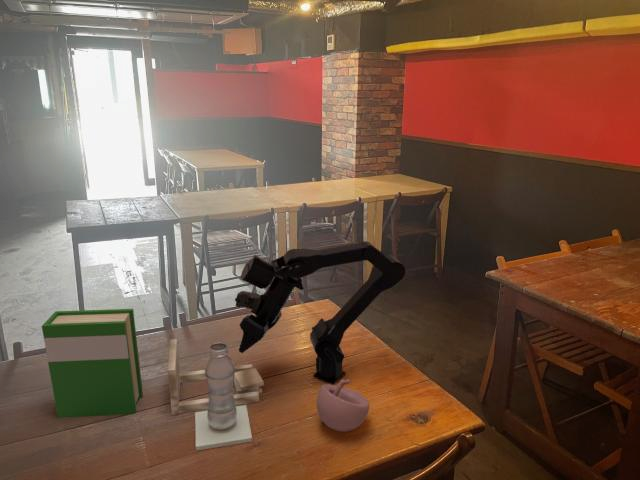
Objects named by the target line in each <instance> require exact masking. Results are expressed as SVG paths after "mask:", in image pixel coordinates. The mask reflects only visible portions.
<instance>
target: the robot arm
mask: <svg viewBox="0 0 640 480" xmlns="http://www.w3.org/2000/svg"><path fill="white" fill-rule="evenodd" d="M362 261H367V262H369V264H371V265H372V268H371V271H370V274H369V276H368V278H367V280H366V281H365V282H364V284H362V285H361V287H360V288H358V290H357V291H356V292H355V293H354V294H353V295H352V296H351V298H350V299H348V301H347V302H346V303H345V304H344V305H343V306H342V308H340V309H339V310H338V312H337V313H335V315H334V316H333V317H331V318H330V319H327V320H325V319H324V318H320V319H319V320H318V322H317V323H316V324H315V325H314V326H313V327H311V332H310V334H309V335H310V336H309V340H310V342H311V345H312V347H313V350H314V352H315V354H316V358H315V372H314V374H313V378H315V379H318V380H320V381H323V382H325V383H327V384H331V385H335V384H336V383H337V381H340V379H341V378H342V377H344V376H345V375H346V371H344V370H343V361H344V358H345V354H344V353H343V350H342V349H341V346H340V344H341V342H342V340H343V337H344V335H345V332H346V331H347V330H348V329H349V328H350V327H351V325H353V323H354V322H355V321H356V320H357V319H358V318H359V317H360V316H361V315H362V314H363V313H364V312H365V311H366V309H368V307H369V306H370V305H371V304H372V303H373V302H374V301H375V300H376V299H377V298H378V296H380V294H382V292H385V291H387V290H389V289H392V288H394V287H395V286H397V285H398V284H399V283H401V281H402V280H403V279H404V278H405V277H406V268H405V266H404V264H403V263H402V262H401V261H400V260H399V259H397V258H396V257H395V256H394V255H392V254H385V253H383V252H382V251H381V250H380V249H378V248H376V247H375V246H374V245H373V244H372V243H371V242H369V241H368V240H367V241H362V242H359V243H352V244H347V245H342V246H341V245H340V246H336V247H329V248H325V249H308V248H291V249H289V250H287V251H286V252H285V253H284V255H282V256H280V257H278V258H275V259H273V260H271V261H270V262H269V261H266V260H265V259H263V258H261V257H260V256H258V255H257V254H254V255H253V256H252V258H251V259H249V260H248V262H246V263H245V265H244V267H243V269H242V271H241V273H240V280H241V281H243V282H246V283H248V284H250V285H251V286H254V287H256V288H258V289H260V290H263V289H266V288H267V289H266V290H265V292H264V293H262V294H258V293H255V292H251V291H247V290H241V291H240V292H238V293H237V294H236V297H235V298H234V302H235V307H237V308H246V309H249V310H251V311H250V313H251V314H248V315H245V317H244V318H242V320H241V321H240V323H239V327H240V330H242V337H241V342H240V345H239V348H238V352H239V353H241V354H243V353H245V352H246V351H248V350H249V349H250V348H251V347H253V346H254V345H255V344H257V343H259V342H260V341H261V340H262V339H263V338H264V337H265V335H266V334H267V333H268V331H269V330H271V329H272V328H273V327H274V326H275V325H276V324H277V323H278V322H279V321H280V319H281V317H282V316H283V315H282V310H283V308H284V307H285V306H286V304H287V303H286V302H287V301H288V299H289V298H290V296H291V295H292V292H293V291H294V290H295V288H296V289H298V290H300V291H303V290H304V286H303V279H302V278H305V277H307V276H310V275H312V274H314V273H316V272H317V271H319V270H321V269H323V268H324V269H325V268H329V267H336V266H340V265H347V264H353V263H357V262H362Z"/></svg>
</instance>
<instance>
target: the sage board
mask: <svg viewBox="0 0 640 480" xmlns="http://www.w3.org/2000/svg"><path fill="white" fill-rule="evenodd" d="M235 406H236V410H237V418H236V422H235V423H234V424H233V426H231V427H230V428H228V429H225V430H217V429H214V428H213V427H211V426H210V424H209V422H208V419H207V412H208V410H200V411H194V416H195V420H194V422H195V427H194V428H195V451H196V452H198V451H203V450H209V449H216V448H221V447H227V446H234V445H240V444H247V443H252V442H253V436H252V430H251V424H250V420H249V415H248V414H249V413H248V407H247V405H246V404H242V405H235Z"/></svg>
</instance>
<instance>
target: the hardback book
mask: <svg viewBox="0 0 640 480" xmlns="http://www.w3.org/2000/svg"><path fill="white" fill-rule="evenodd" d="M136 329H137V328H136V321H135V312H134V308H117V309H116V308H114V309H111V308H110V309H89V310H87V309H85V310H81V309H80V310H58V311H57V310H56V311H54V313H52V315H51V316H49V317H48V319H47V320H46V321H45V322H43V324H42V325H41V331H42V336H43V342H44V347H45V352H46V359H47V364H48V370H49V375H50V380H51V387H52V391H53V397H54V403H55V409H56V413H57V419H63V418H66V419H67V418H81V417H82V418H84V417H85V418H86V417H102V416H103V417H104V416H121V415H136V414H137V402H138V398H139V399H140V398H143V397H144V393H143V383H142V374H141V367H140V366H141V365H140V358H139V357H140V355H139V347H138V340H137V339H138V338H137V331H136Z"/></svg>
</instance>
